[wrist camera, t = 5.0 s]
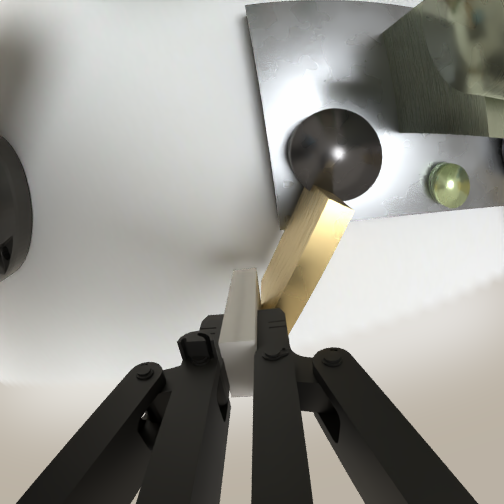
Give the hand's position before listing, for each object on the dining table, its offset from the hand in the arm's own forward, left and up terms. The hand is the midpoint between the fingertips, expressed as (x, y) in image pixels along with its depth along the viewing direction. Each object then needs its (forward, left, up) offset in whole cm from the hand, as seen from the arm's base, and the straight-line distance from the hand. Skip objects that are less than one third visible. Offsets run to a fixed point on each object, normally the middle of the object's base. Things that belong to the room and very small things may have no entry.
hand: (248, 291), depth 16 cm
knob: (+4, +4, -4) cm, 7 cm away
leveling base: (+14, +10, -6) cm, 18 cm away
